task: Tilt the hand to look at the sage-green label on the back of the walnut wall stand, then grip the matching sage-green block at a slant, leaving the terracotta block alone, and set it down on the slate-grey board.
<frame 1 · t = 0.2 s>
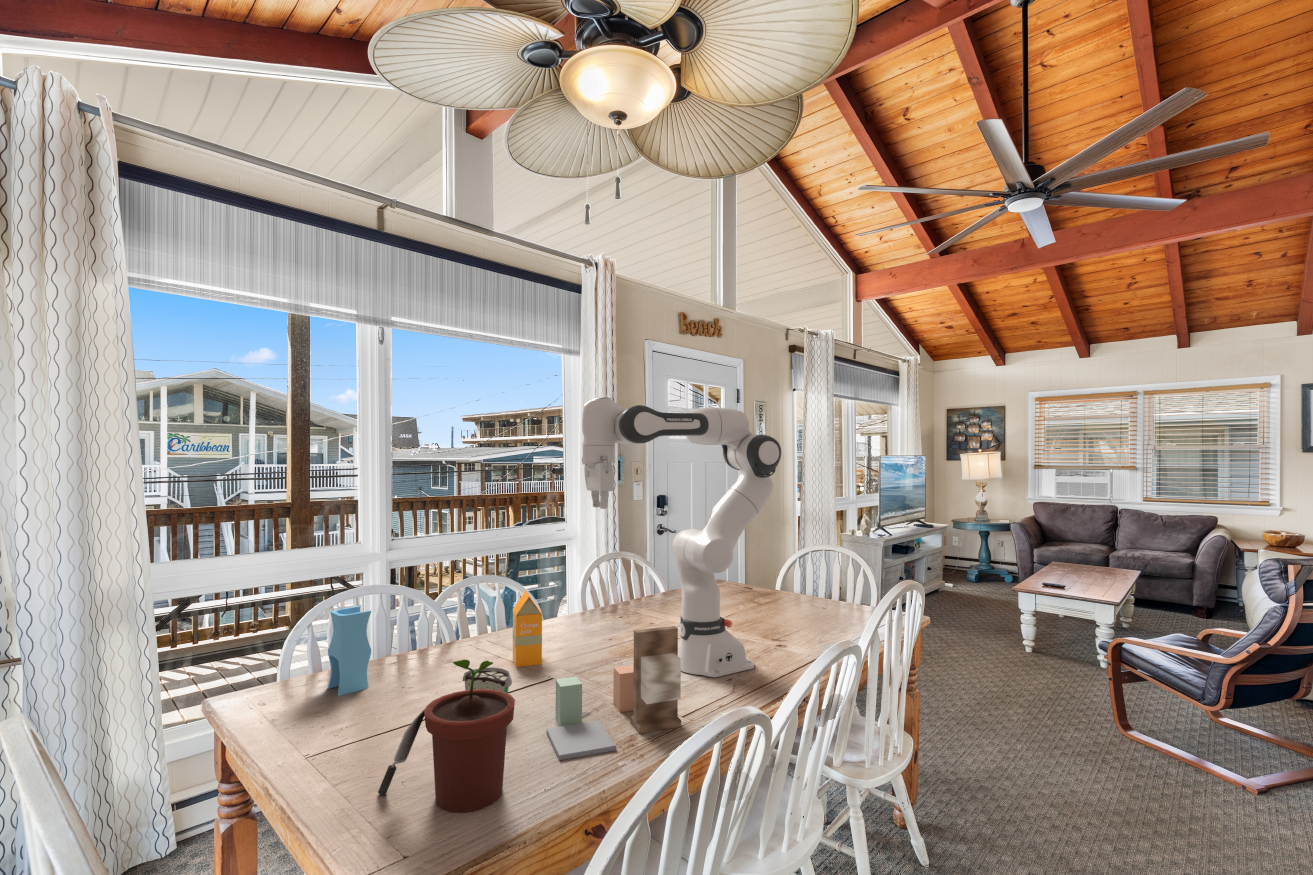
hand: (599, 507, 169), 47 cm above the table, tool pointing down, fingers open, 8 cm apart
food container: (492, 714, 147), on the table
orange juice: (526, 661, 185), on the table
terracotta block: (626, 706, 152), on the table
potted plant: (455, 792, 114), on the table
grey board: (580, 741, 133), on the table
vase: (348, 688, 163), on the table
green block: (568, 720, 144), on the table
wall stand: (655, 724, 142), on the table
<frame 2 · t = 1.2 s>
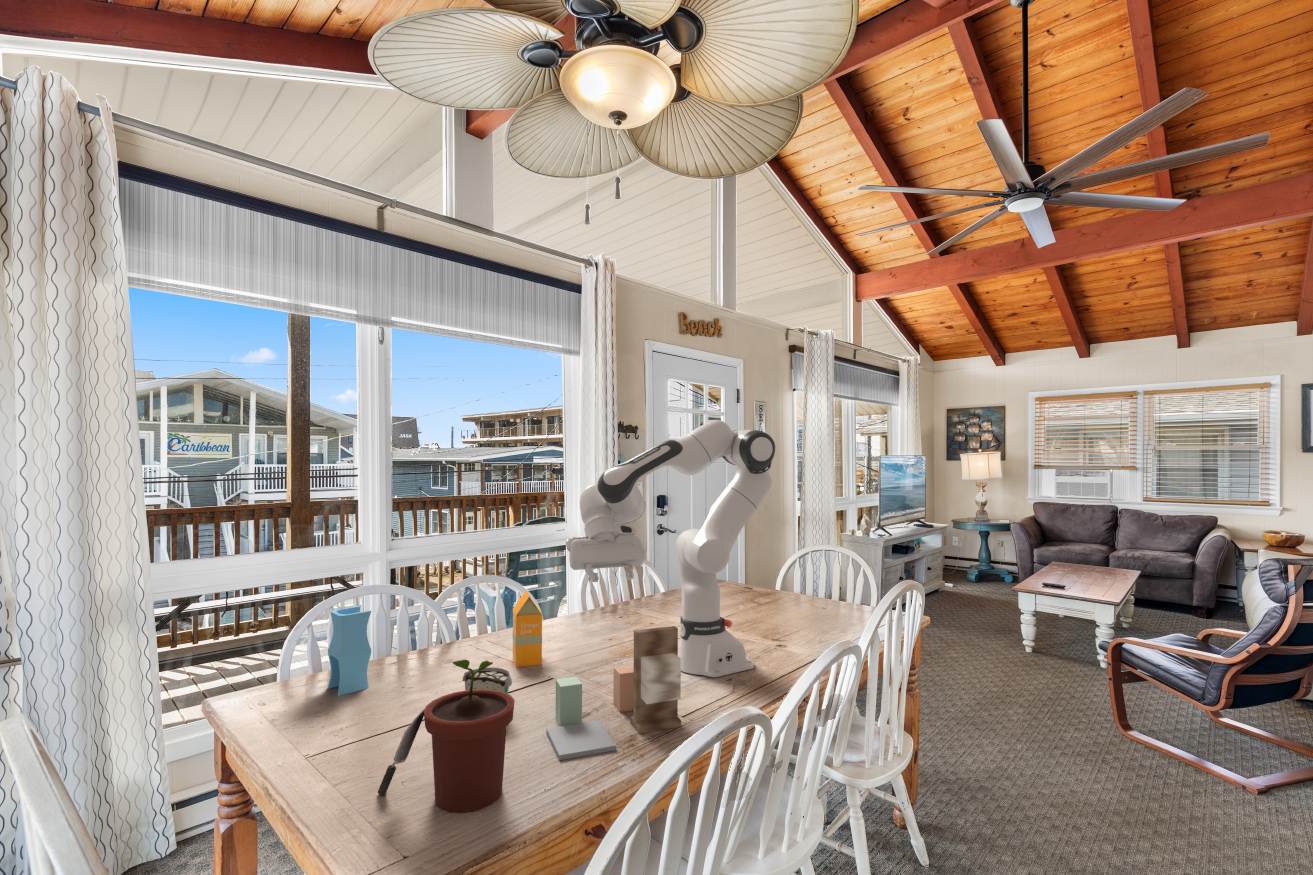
hand: (613, 579, 160), 29 cm above the table, tool tilted 45°, fingers open, 8 cm apart
nothing on the table moved.
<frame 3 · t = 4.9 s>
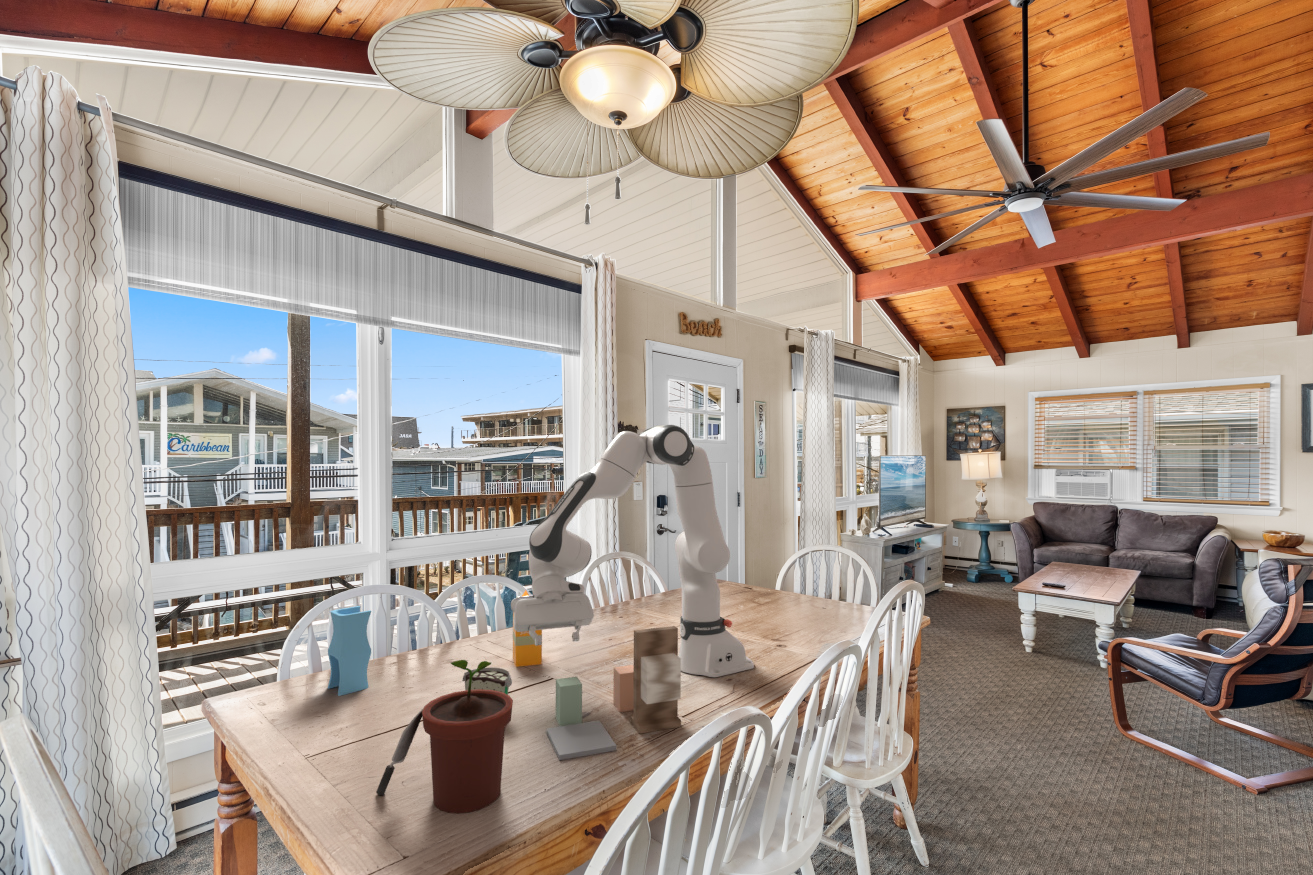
hand: (557, 642, 155), 15 cm above the table, tool tilted 45°, fingers open, 8 cm apart
nothing on the table moved.
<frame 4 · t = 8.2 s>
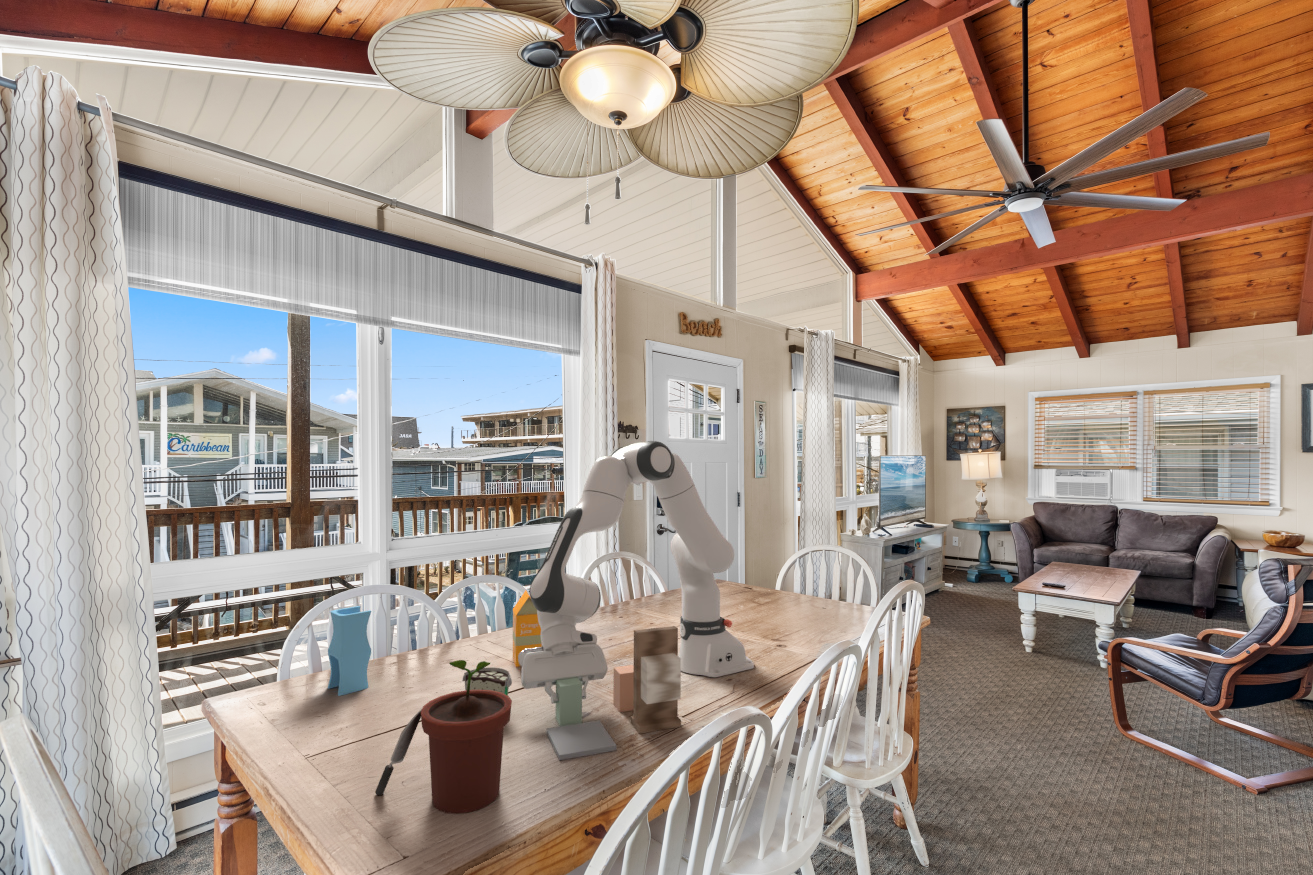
hand: (569, 700, 143), 5 cm above the table, tool tilted 45°, fingers closed on green block, 5 cm apart
green block: (568, 720, 144), on the table, touching gripper
everything else where it was.
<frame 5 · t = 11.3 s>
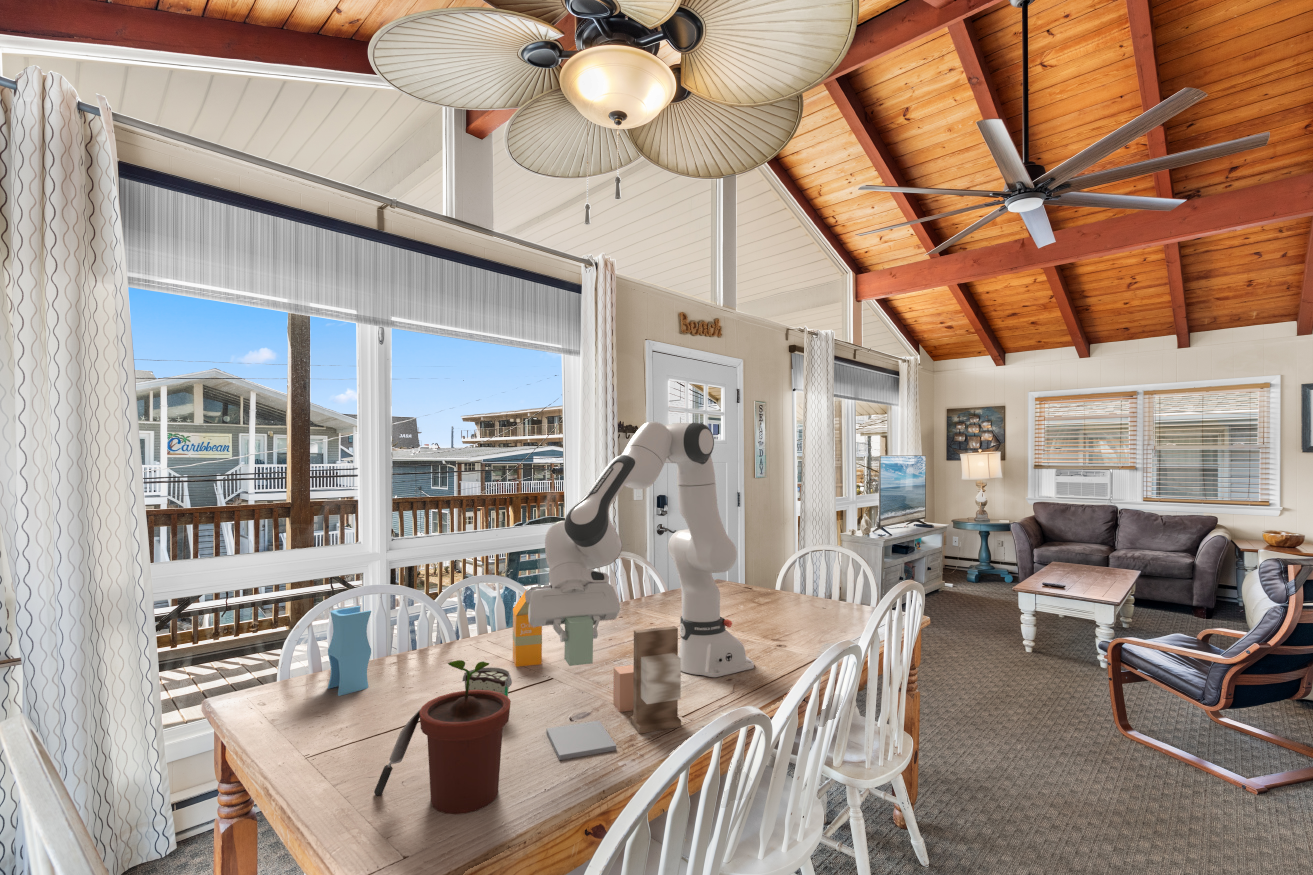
hand: (579, 638, 134), 22 cm above the table, tool tilted 45°, fingers closed on green block, 5 cm apart
green block: (578, 660, 134), point 17 cm above the table, touching gripper
everything else where it was.
when the fingers open (7 cm above the table, at t = 14.5 s): green block drops 1 cm, resting on grey board.
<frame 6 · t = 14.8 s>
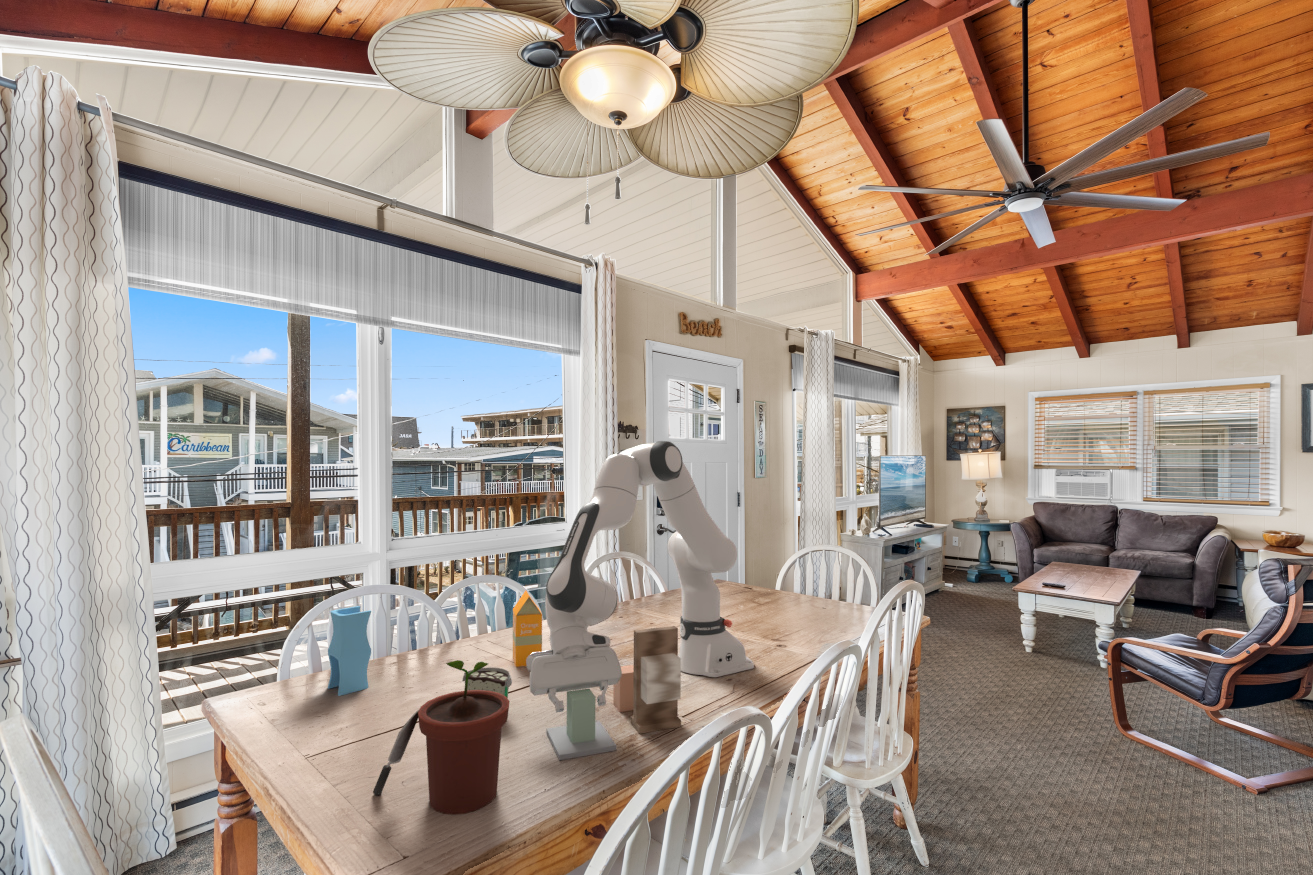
hand: (581, 707, 133), 7 cm above the table, tool tilted 45°, fingers open, 8 cm apart
green block: (580, 736, 133), point 1 cm above the table, touching grey board
everything else where it was.
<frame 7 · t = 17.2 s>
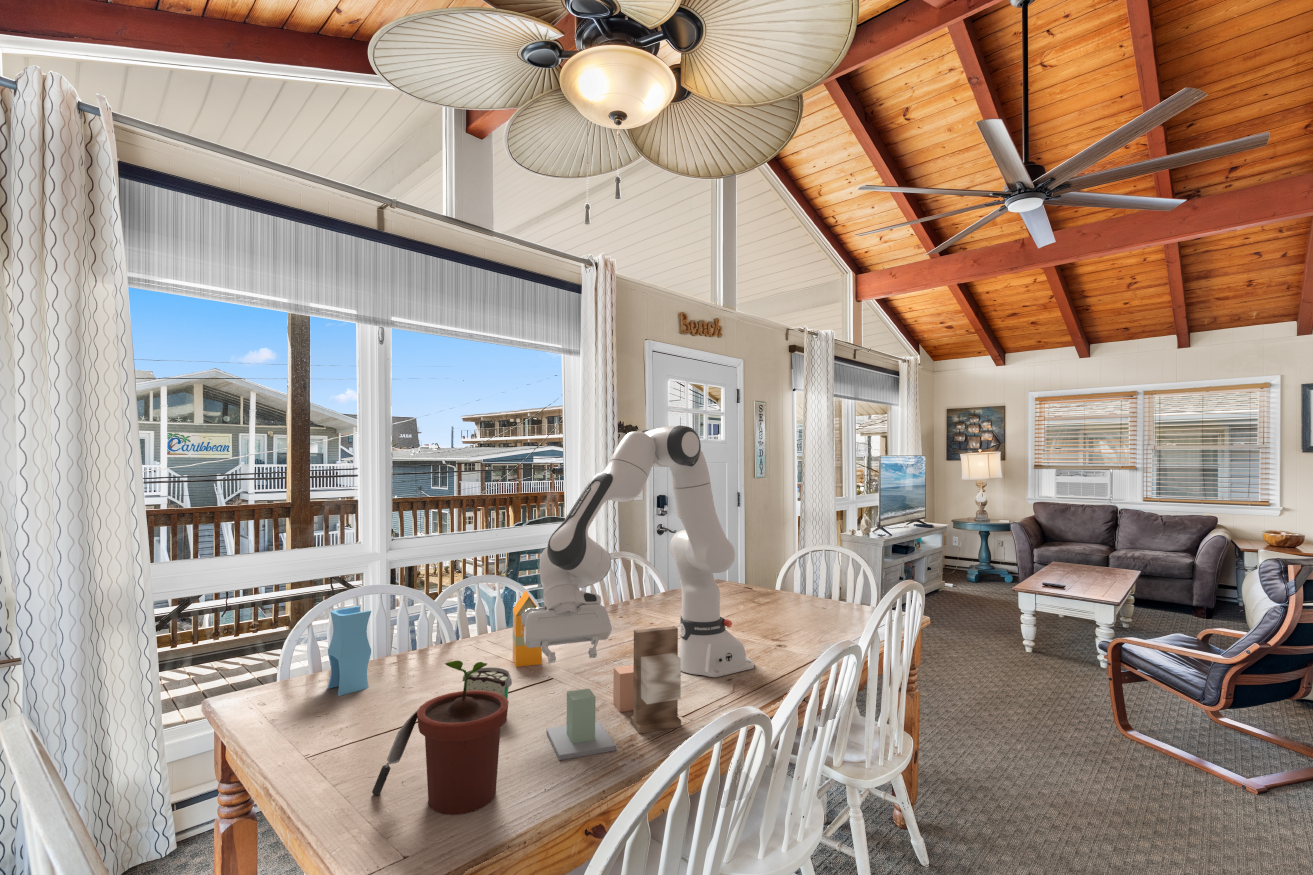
hand: (573, 659, 141), 15 cm above the table, tool tilted 45°, fingers open, 8 cm apart
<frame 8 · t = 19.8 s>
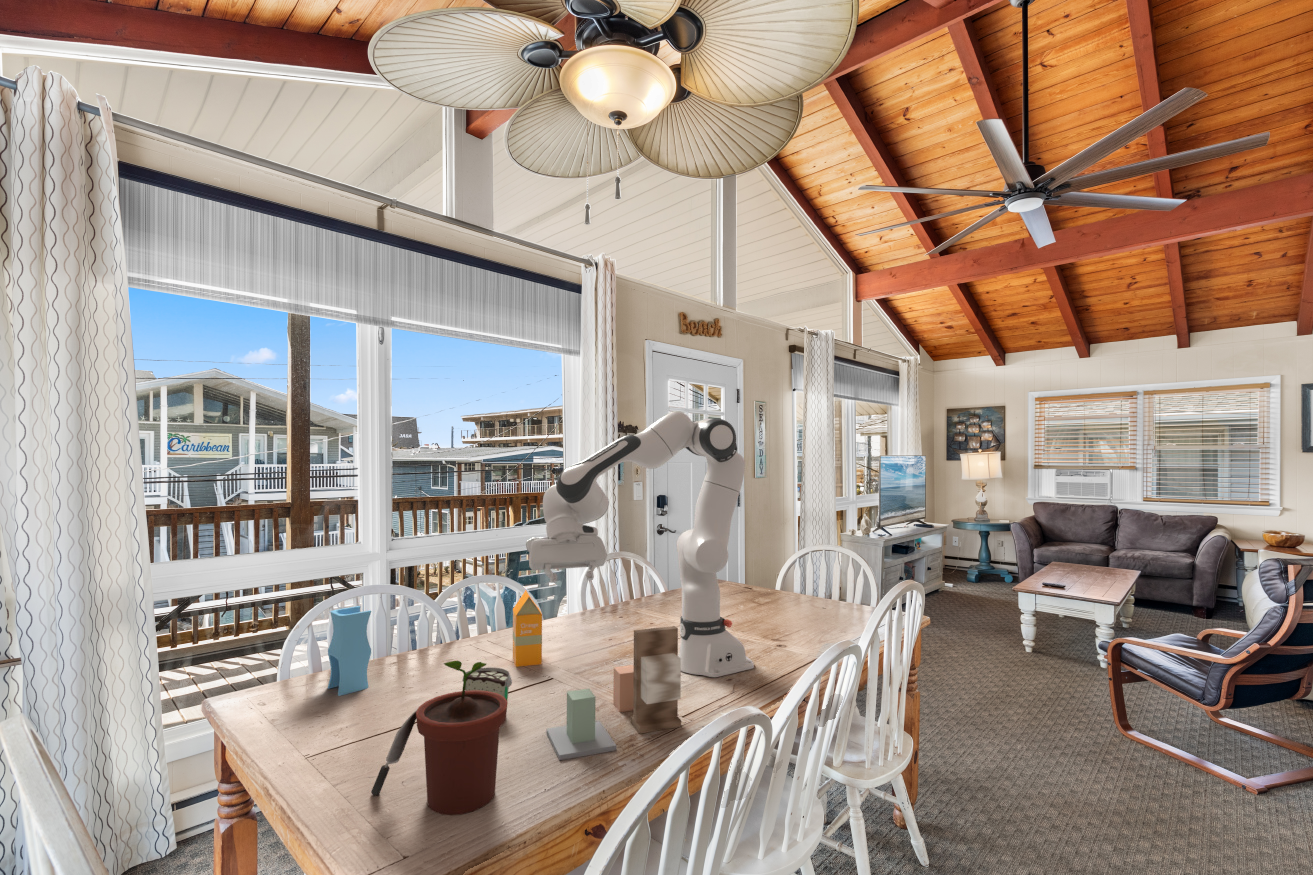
hand: (572, 580, 158), 29 cm above the table, tool tilted 45°, fingers open, 8 cm apart
at the end: green block inside the target area on the grey board (0.1 cm from its centre), point 1.0 cm above the grey board's base; green block tilted 0°; the gripper is holding nothing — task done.
